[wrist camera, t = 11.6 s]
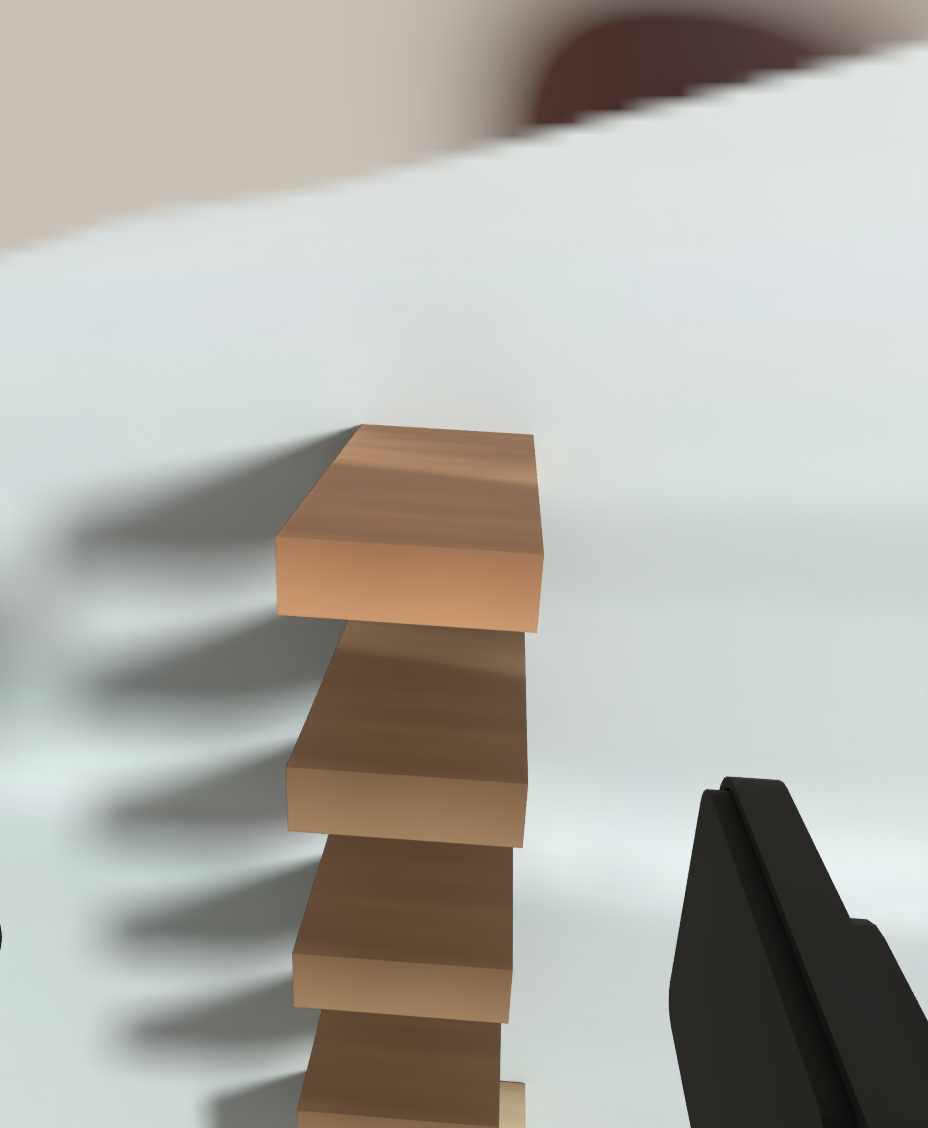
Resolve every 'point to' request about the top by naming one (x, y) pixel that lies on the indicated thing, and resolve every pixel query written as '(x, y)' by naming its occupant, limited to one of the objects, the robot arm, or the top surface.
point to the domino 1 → (419, 532)
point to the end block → (512, 1105)
